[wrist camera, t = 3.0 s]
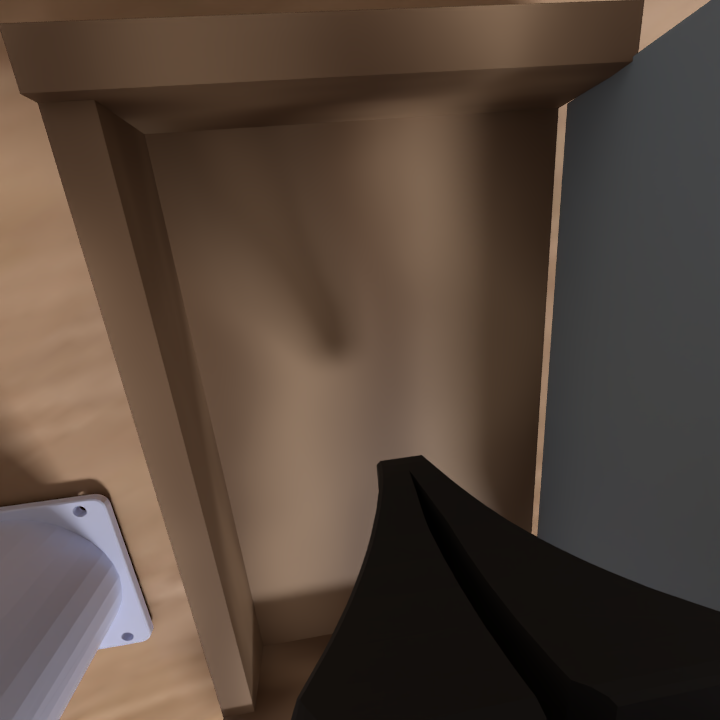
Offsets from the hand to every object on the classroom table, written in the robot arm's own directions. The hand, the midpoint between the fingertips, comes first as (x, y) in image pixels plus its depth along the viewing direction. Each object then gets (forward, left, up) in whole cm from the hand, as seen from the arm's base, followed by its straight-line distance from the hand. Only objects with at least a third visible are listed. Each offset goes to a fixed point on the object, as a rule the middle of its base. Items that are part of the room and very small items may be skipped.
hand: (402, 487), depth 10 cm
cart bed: (0, 0, -5) cm, 5 cm away
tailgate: (+7, 0, -4) cm, 8 cm away
